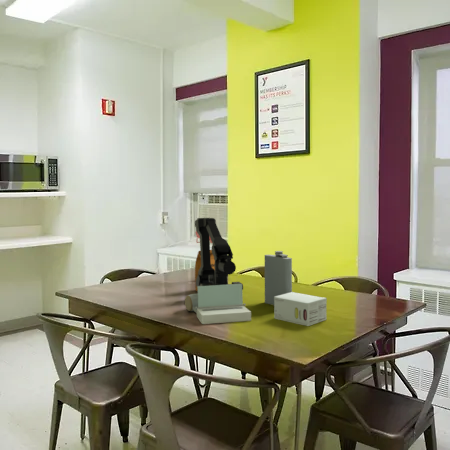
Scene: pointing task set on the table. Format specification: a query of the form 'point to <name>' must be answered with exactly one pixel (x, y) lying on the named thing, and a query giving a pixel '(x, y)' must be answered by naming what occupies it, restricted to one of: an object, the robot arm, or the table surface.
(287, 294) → the supplement box
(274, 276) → the flask
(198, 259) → the coffee package
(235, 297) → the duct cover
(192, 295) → the ceramic mug
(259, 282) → the table surface
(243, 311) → the panel
